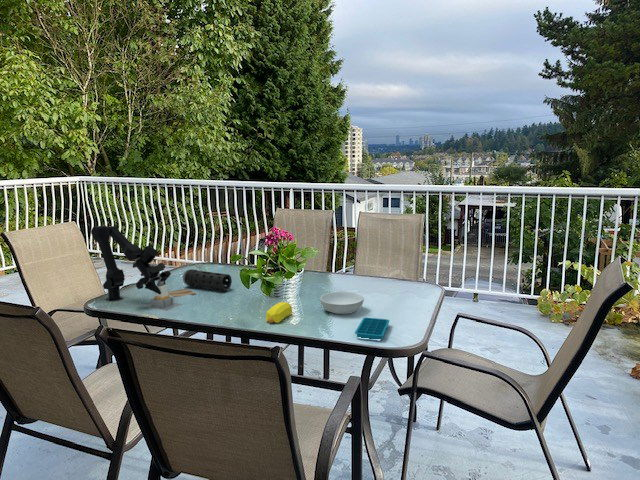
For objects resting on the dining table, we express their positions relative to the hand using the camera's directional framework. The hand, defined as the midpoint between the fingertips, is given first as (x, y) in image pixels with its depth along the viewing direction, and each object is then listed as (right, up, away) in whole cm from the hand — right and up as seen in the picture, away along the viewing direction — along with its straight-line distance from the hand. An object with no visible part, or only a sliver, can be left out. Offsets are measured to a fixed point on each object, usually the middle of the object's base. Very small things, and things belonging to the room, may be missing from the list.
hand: (163, 292), depth 229 cm
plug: (-1, -6, +2) cm, 7 cm away
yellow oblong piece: (+58, -11, -15) cm, 61 cm away
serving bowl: (+88, -9, -5) cm, 88 cm away
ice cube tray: (+99, -14, -32) cm, 105 cm away
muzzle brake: (+13, -2, +34) cm, 37 cm away
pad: (+1, -4, +23) cm, 24 cm away
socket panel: (-1, -7, +2) cm, 8 cm away
